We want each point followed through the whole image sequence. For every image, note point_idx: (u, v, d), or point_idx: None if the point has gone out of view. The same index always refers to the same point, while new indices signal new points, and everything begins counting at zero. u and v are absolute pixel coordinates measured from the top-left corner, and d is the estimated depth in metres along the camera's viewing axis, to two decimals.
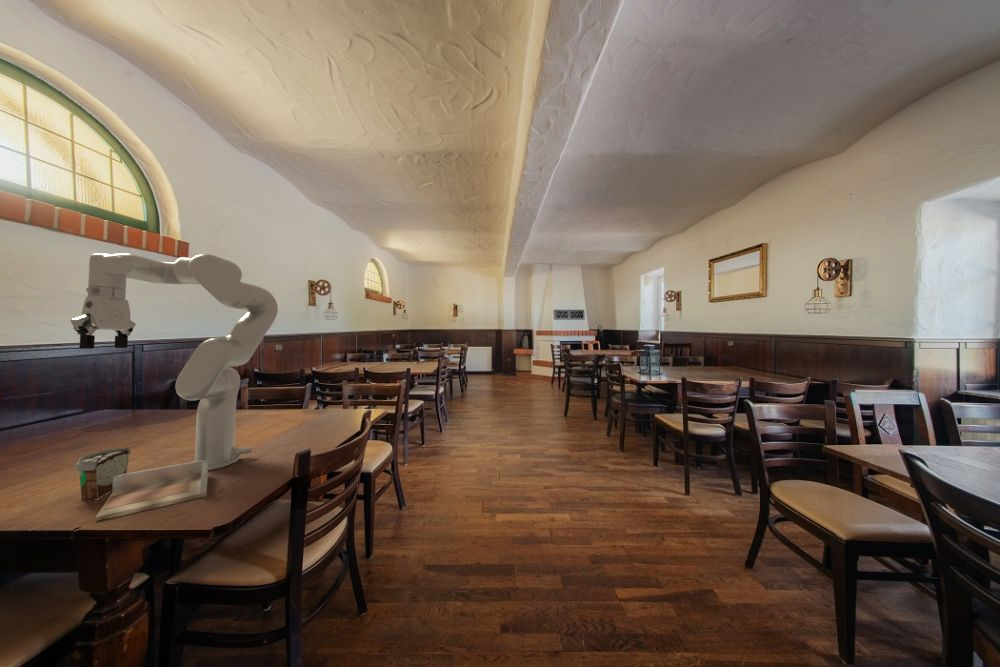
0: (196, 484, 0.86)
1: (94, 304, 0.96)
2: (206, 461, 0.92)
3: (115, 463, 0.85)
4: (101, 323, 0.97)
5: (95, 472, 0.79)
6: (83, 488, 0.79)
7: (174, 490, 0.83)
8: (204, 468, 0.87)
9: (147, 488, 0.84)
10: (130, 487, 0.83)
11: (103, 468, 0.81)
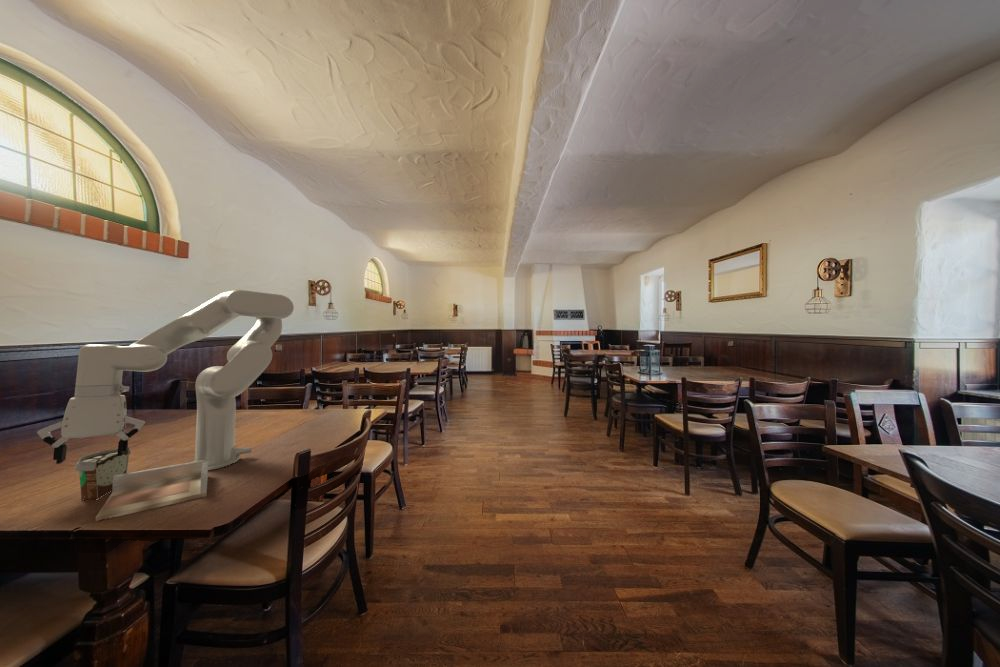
0: (196, 484, 0.86)
1: None
2: (206, 461, 0.92)
3: (115, 463, 0.85)
4: None
5: (95, 472, 0.79)
6: (83, 488, 0.79)
7: (174, 490, 0.83)
8: (204, 468, 0.87)
9: (147, 488, 0.84)
10: (130, 487, 0.83)
11: (103, 468, 0.81)
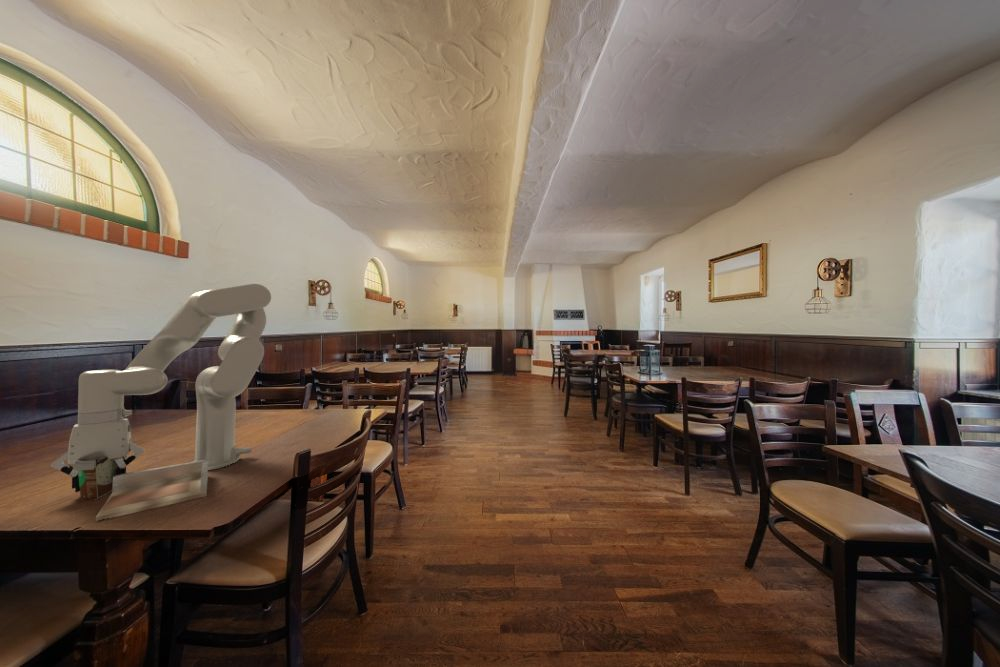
0: (196, 484, 0.86)
1: (129, 427, 0.88)
2: (206, 461, 0.92)
3: (114, 463, 0.85)
4: None
5: (95, 471, 0.79)
6: (82, 488, 0.79)
7: (174, 490, 0.83)
8: (204, 468, 0.87)
9: (147, 488, 0.84)
10: (130, 487, 0.83)
11: (102, 467, 0.81)
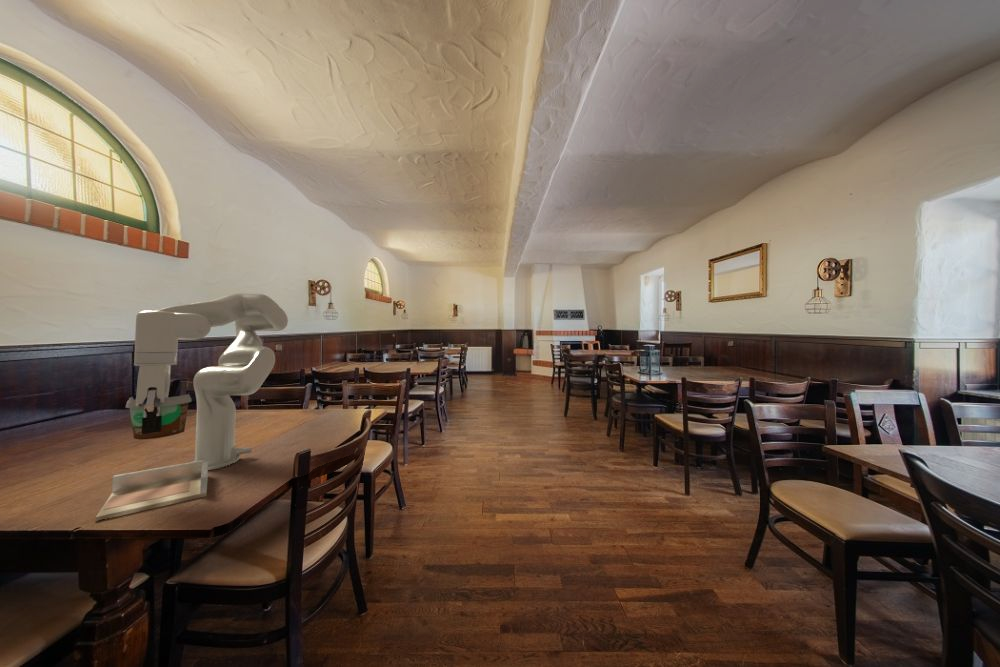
0: (196, 484, 0.86)
1: None
2: (206, 461, 0.92)
3: None
4: None
5: (187, 404, 0.86)
6: (174, 423, 0.82)
7: (174, 490, 0.83)
8: (204, 468, 0.87)
9: (147, 488, 0.84)
10: (130, 487, 0.83)
11: None
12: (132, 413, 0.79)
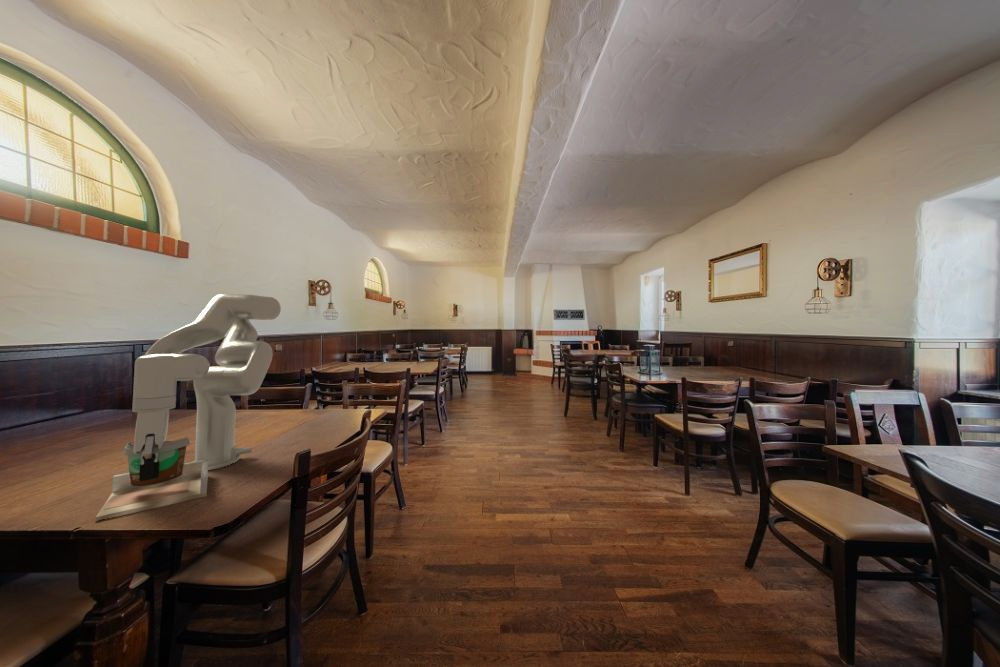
0: (196, 484, 0.86)
1: None
2: (206, 461, 0.92)
3: None
4: None
5: (185, 447, 0.85)
6: (172, 467, 0.82)
7: (174, 490, 0.83)
8: (204, 468, 0.87)
9: (147, 488, 0.84)
10: (130, 487, 0.83)
11: None
12: (129, 459, 0.78)
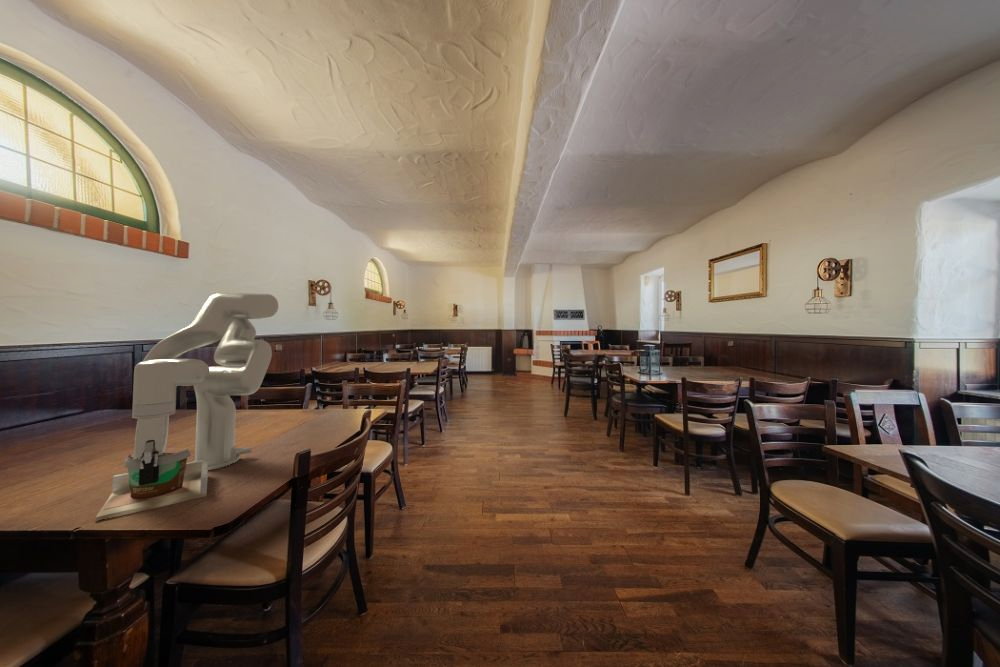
0: (196, 484, 0.86)
1: None
2: (206, 461, 0.92)
3: None
4: None
5: (186, 459, 0.85)
6: (173, 480, 0.82)
7: None
8: (204, 468, 0.87)
9: None
10: None
11: None
12: (130, 472, 0.78)
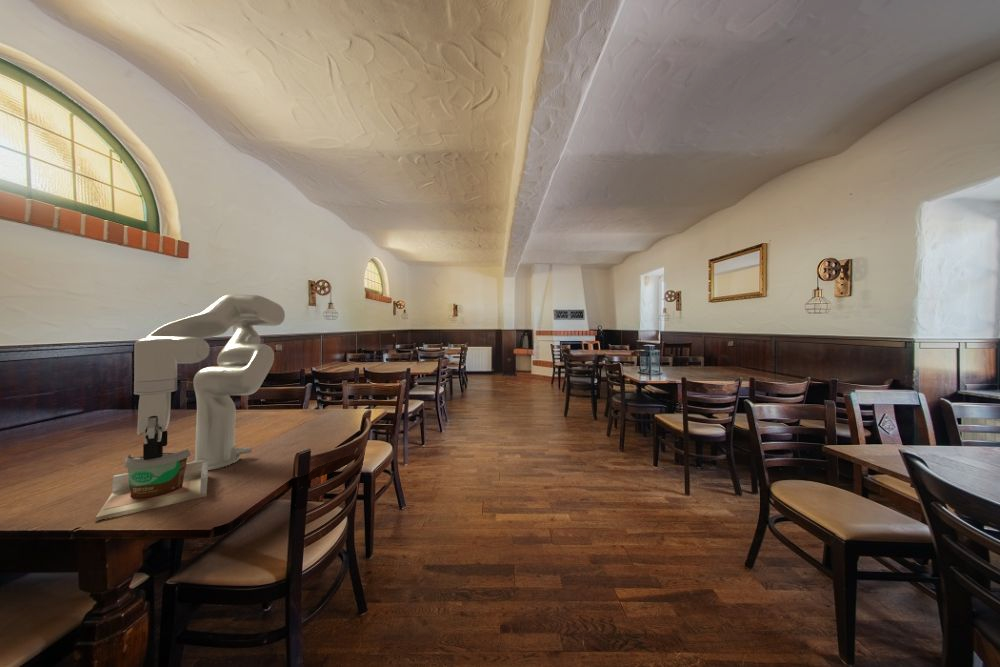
0: (196, 484, 0.86)
1: None
2: (206, 461, 0.92)
3: None
4: None
5: (186, 459, 0.85)
6: (173, 479, 0.82)
7: None
8: (204, 468, 0.87)
9: None
10: None
11: None
12: (130, 472, 0.78)
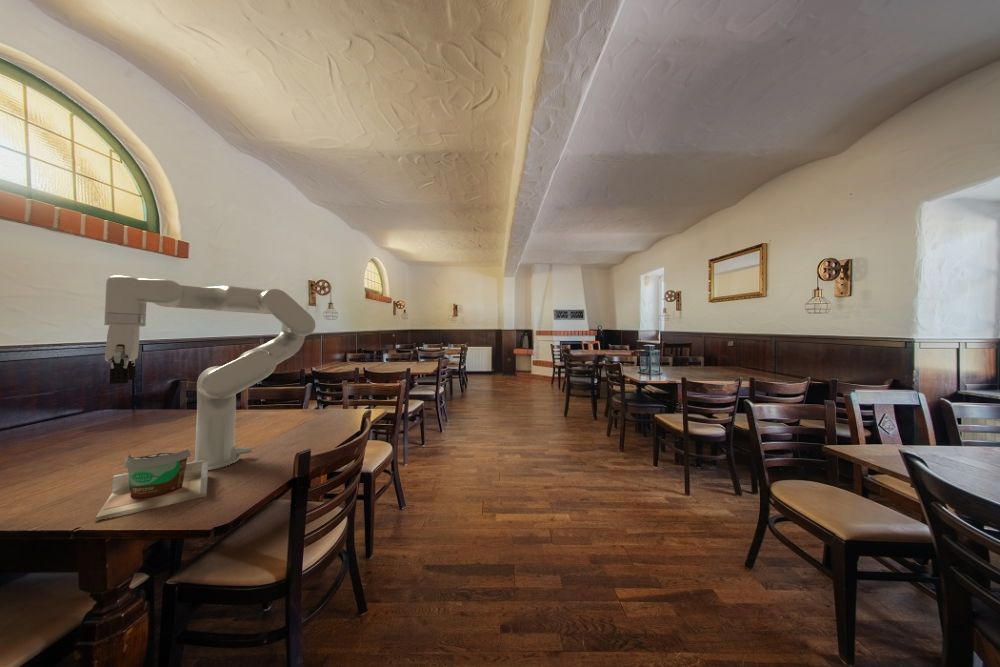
0: (196, 484, 0.86)
1: None
2: (206, 461, 0.92)
3: None
4: None
5: (186, 459, 0.85)
6: (173, 480, 0.82)
7: None
8: (204, 468, 0.87)
9: None
10: None
11: None
12: (130, 472, 0.78)
